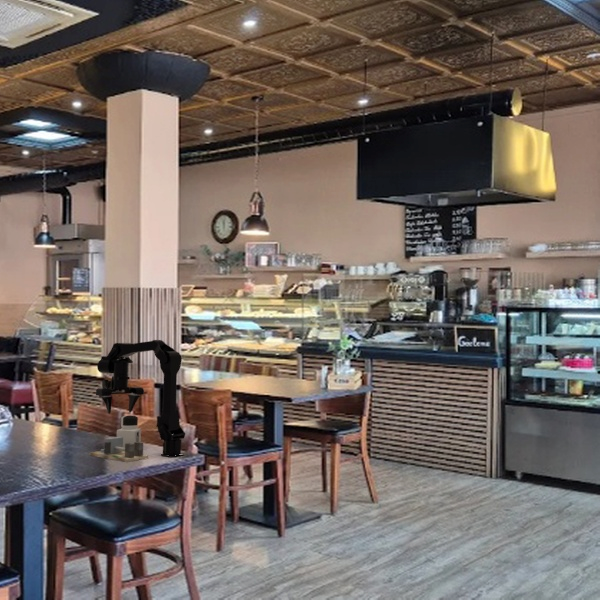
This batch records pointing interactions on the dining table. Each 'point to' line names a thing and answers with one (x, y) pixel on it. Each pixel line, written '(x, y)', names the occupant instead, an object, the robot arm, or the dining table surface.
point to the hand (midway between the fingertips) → (119, 413)
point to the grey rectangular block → (115, 445)
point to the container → (129, 430)
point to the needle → (107, 447)
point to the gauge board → (125, 453)
